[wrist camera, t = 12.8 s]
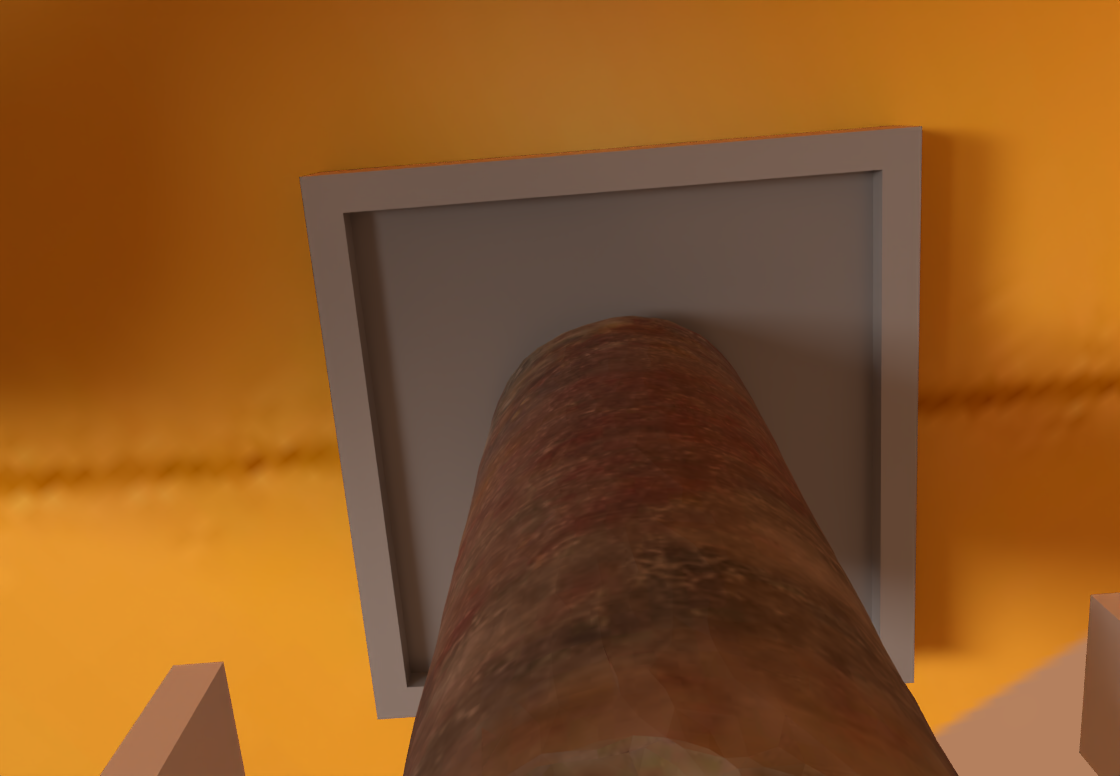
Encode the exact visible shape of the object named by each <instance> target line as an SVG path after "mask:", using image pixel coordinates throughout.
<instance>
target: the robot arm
mask: <svg viewBox="0 0 1120 776" xmlns="http://www.w3.org/2000/svg"><path fill="white" fill-rule="evenodd" d="M1080 754H1081V755H1082V756H1083V757H1084V759H1085V760H1086V761H1087V762H1088V763H1089V765H1090V766H1091V767H1092V768H1093V769H1094V771H1095V772H1096V773H1097V774H1098V776H1120V593H1107V594H1094V595H1091V599H1090V613H1089V627H1088V641H1087V655H1086V668H1085V682H1084V696H1083V711H1082V724H1081V738H1080ZM100 776H245V772H244V766H243V761H242V756H241V751H240V746H239V740H238V735H237V730H236V725H235V720H234V715H233V709H232V704H231V699H230V694H229V689H228V684H227V678H226V673H225V668H224V663H223V662H213V663H200V664H187V665H174V666H173V667H172V668H171V670H170V671H169V673H168V674H167V676H166V677H165V679H164V680H163V682H162V683H161V685H160V686H159V688H158V689H157V691H156V692H155V694H154V695H153V697H152V698H151V700H150V701H149V703H148V704H147V706H146V707H145V709H144V710H143V712H142V713H141V715H140V716H139V718H138V719H137V721H136V722H135V724H134V725H133V727H132V728H131V730H130V731H129V733H128V734H127V736H126V737H125V739H124V740H123V742H122V743H121V745H120V746H119V748H118V749H117V751H116V752H115V754H114V755H113V757H112V758H111V760H110V761H109V763H108V764H107V766H106V767H105V769H104V770H103V772H102V773H101V775H100Z"/></svg>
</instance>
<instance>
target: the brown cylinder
mask: <svg viewBox="0 0 1120 776" xmlns="http://www.w3.org/2000/svg"><path fill="white" fill-rule="evenodd" d="M403 776H958V774H957V773H956V771H955V769H954V768H953V766H952V764H951V763H950V761H949V760H948V758H947V756H946V755H945V753H944V751H943V750H942V748H941V747H940V745H939V743H938V742H937V740H936V738H935V736H934V734H933V732H932V731H931V729H930V727H929V725H928V723H927V721H926V719H925V717H924V715H923V713H922V712H921V710H920V708H919V706H918V704H917V702H916V700H915V698H914V697H913V695H912V694H911V692H910V691H909V689H908V688H907V686H906V684H905V683H904V681H903V680H902V678H901V676H900V674H899V673H898V671H897V669H896V667H895V665H894V664H893V662H892V660H891V658H890V656H889V655H888V653H887V651H886V649H885V648H884V646H883V644H882V642H881V640H880V638H879V636H878V633H877V631H876V629H875V627H874V625H873V623H872V621H871V619H870V617H869V615H868V613H867V612H866V610H865V608H864V606H863V604H862V602H861V600H860V599H859V597H858V595H857V593H856V591H855V589H854V588H853V586H852V584H851V582H850V580H849V579H848V577H847V575H846V573H845V572H844V570H843V568H842V567H841V565H840V564H839V562H838V560H837V558H836V556H835V554H834V551H833V549H832V548H831V546H830V544H829V543H828V541H827V539H826V537H825V536H824V534H823V532H822V530H821V529H820V527H819V525H818V523H817V521H816V519H815V518H814V516H813V514H812V512H811V510H810V509H809V507H808V505H807V503H806V501H805V500H804V498H803V496H802V494H801V492H800V490H799V488H798V486H797V484H796V482H795V480H794V478H793V476H792V474H791V472H790V470H789V469H788V467H787V465H786V463H785V461H784V459H783V457H782V455H781V452H780V450H779V448H778V446H777V443H776V442H775V440H774V438H773V436H772V434H771V432H770V430H769V428H768V427H767V425H766V423H765V421H764V420H763V418H762V416H761V414H760V412H759V410H758V408H757V407H756V405H755V403H754V401H753V399H752V397H751V395H750V394H749V392H748V390H747V389H746V387H745V385H744V384H743V382H742V380H741V379H740V377H739V376H738V374H737V372H736V371H735V369H734V368H733V367H732V365H731V364H730V363H729V362H728V361H727V359H726V358H725V357H724V356H723V355H722V354H721V353H720V352H719V351H718V350H717V348H715V347H714V346H713V345H712V344H711V343H710V342H709V341H708V340H707V339H705V338H704V337H703V336H701V335H700V334H697V333H695V332H693V331H691V330H689V329H686V328H684V327H682V326H680V325H678V324H676V323H673V322H671V321H669V320H665V319H659V318H648V317H640V316H623V317H612V318H608V319H605V320H601V321H598V322H594V323H590V324H587V325H584V326H581V327H578V328H575V329H573V330H570V331H567V332H564V333H562V334H560V335H559V336H557V337H555V338H554V339H552V340H551V341H549V342H547V343H546V344H544V345H542V346H540V347H538V348H537V349H536V350H535V351H534V352H532V353H531V354H530V355H529V356H528V357H526V358H525V359H524V360H523V361H522V363H521V364H520V365H519V367H518V368H517V369H516V370H515V372H514V373H513V374H512V375H511V377H510V379H509V380H508V382H507V384H506V386H505V388H504V390H503V393H502V395H501V397H500V399H499V401H498V404H497V407H496V409H495V412H494V415H493V418H492V421H491V426H490V430H489V433H488V437H487V441H486V444H485V448H484V452H483V456H482V459H481V462H480V465H479V469H478V473H477V478H476V483H475V488H474V493H473V497H472V501H471V505H470V510H469V514H468V518H467V522H466V525H465V529H464V532H463V536H462V540H461V543H460V547H459V552H458V557H457V560H456V563H455V567H454V571H453V575H452V579H451V583H450V587H449V591H448V595H447V599H446V603H445V607H444V611H443V615H442V620H441V625H440V630H439V635H438V639H437V644H436V648H435V652H434V655H433V658H432V662H431V665H430V668H429V672H428V675H427V678H426V682H425V685H424V689H423V692H422V696H421V699H420V703H419V706H418V710H417V713H416V718H415V722H414V726H413V731H412V735H411V740H410V745H409V749H408V754H407V758H406V763H405V769H404V774H403Z"/></svg>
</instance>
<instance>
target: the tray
mask: <svg viewBox="0 0 1120 776" xmlns="http://www.w3.org/2000/svg"><path fill="white" fill-rule="evenodd" d="M921 166H922V126H896V125H892V126H880V127H868V128H855V129H843V130H831V131H819V132H806V133H794V134H782V135H770V136H757V137H745V138H733V139H720V140H708V141H696V142H684V143H671V144H659V145H647V146H635V147H622V148H610V149H598V150H585V151H573V152H561V153H549V154H536V155H524V156H512V157H499V158H487V159H475V160H463V161H450V162H438V163H426V164H414V165H401V166H389V167H377V168H364V169H352V170H340V171H328V172H318V173H314V174H310V175H306V176H302V177H299V178H300V185H301V192H302V199H303V206H304V213H305V220H306V227H307V234H308V241H309V247H310V254H311V261H312V268H313V275H314V282H315V289H316V296H317V303H318V310H319V317H320V323H321V330H322V337H323V344H324V351H325V358H326V365H327V372H328V379H329V386H330V392H331V399H332V406H333V413H334V420H335V427H336V434H337V441H338V448H339V455H340V462H341V468H342V475H343V482H344V489H345V496H346V503H347V510H348V517H349V524H350V531H351V538H352V544H353V551H354V558H355V565H356V572H357V579H358V586H359V593H360V600H361V607H362V613H363V620H364V627H365V634H366V641H367V648H368V655H369V662H370V669H371V676H372V683H373V689H374V696H375V703H376V710H377V717H378V719H390V718H405V717H416V713H417V710H418V706H419V703H420V699H421V696H422V692H423V689H424V685H425V682H426V678H427V675H428V672H429V668H430V665H431V662H432V658H433V655H434V652H435V648H436V644H437V639H438V635H439V630H440V625H441V620H442V615H443V611H444V607H445V603H446V599H447V595H448V591H449V587H450V583H451V579H452V575H453V571H454V567H455V563H456V560H457V557H458V552H459V547H460V543H461V540H462V536H463V532H464V529H465V525H466V522H467V518H468V514H469V510H470V505H471V501H472V497H473V493H474V488H475V483H476V478H477V473H478V469H479V465H480V462H481V459H482V456H483V452H484V448H485V444H486V441H487V437H488V433H489V430H490V426H491V421H492V418H493V415H494V412H495V409H496V407H497V404H498V401H499V399H500V397H501V395H502V393H503V390H504V388H505V386H506V384H507V382H508V380H509V379H510V377H511V375H512V374H513V373H514V372H515V370H516V369H517V368H518V367H519V365H520V364H521V363H522V361H523V360H524V359H525V358H526V357H528V356H529V355H530V354H531V353H532V352H534V351H535V350H536V349H537V348H538V347H540V346H542V345H544V344H546V343H547V342H549V341H551V340H552V339H554V338H555V337H557V336H559V335H560V334H562V333H564V332H567V331H570V330H573V329H575V328H578V327H581V326H584V325H587V324H590V323H594V322H598V321H601V320H605V319H608V318H612V317H623V316H640V317H648V318H659V319H665V320H669V321H671V322H673V323H676V324H678V325H680V326H682V327H684V328H686V329H689V330H691V331H693V332H695V333H697V334H700V335H701V336H703V337H704V338H705V339H707V340H708V341H709V342H710V343H711V344H712V345H713V346H714V347H715V348H717V350H718V351H719V352H720V353H721V354H722V355H723V356H724V357H725V358H726V359H727V361H728V362H729V363H730V364H731V365H732V367H733V368H734V369H735V371H736V372H737V374H738V376H739V377H740V379H741V380H742V382H743V384H744V385H745V387H746V389H747V390H748V392H749V394H750V395H751V397H752V399H753V401H754V403H755V405H756V407H757V408H758V410H759V412H760V414H761V416H762V418H763V420H764V421H765V423H766V425H767V427H768V428H769V430H770V432H771V434H772V436H773V438H774V440H775V442H776V443H777V446H778V448H779V450H780V452H781V455H782V457H783V459H784V461H785V463H786V465H787V467H788V469H789V470H790V472H791V474H792V476H793V478H794V480H795V482H796V484H797V486H798V488H799V490H800V492H801V494H802V496H803V498H804V500H805V501H806V503H807V505H808V507H809V509H810V510H811V512H812V514H813V516H814V518H815V519H816V521H817V523H818V525H819V527H820V529H821V530H822V532H823V534H824V536H825V537H826V539H827V541H828V543H829V544H830V546H831V548H832V549H833V551H834V554H835V556H836V558H837V560H838V562H839V564H840V565H841V567H842V568H843V570H844V572H845V573H846V575H847V577H848V579H849V580H850V582H851V584H852V586H853V588H854V589H855V591H856V593H857V595H858V597H859V599H860V600H861V602H862V604H863V606H864V608H865V610H866V612H867V613H868V615H869V617H870V619H871V621H872V623H873V625H874V627H875V629H876V631H877V633H878V636H879V638H880V640H881V642H882V644H883V646H884V648H885V649H886V651H887V653H888V655H889V656H890V658H891V660H892V662H893V664H894V665H895V667H896V669H897V671H898V673H899V674H900V676H901V678H902V680H903V681H904V683H914V638H915V571H916V504H917V436H918V369H919V301H920V234H921Z"/></svg>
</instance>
